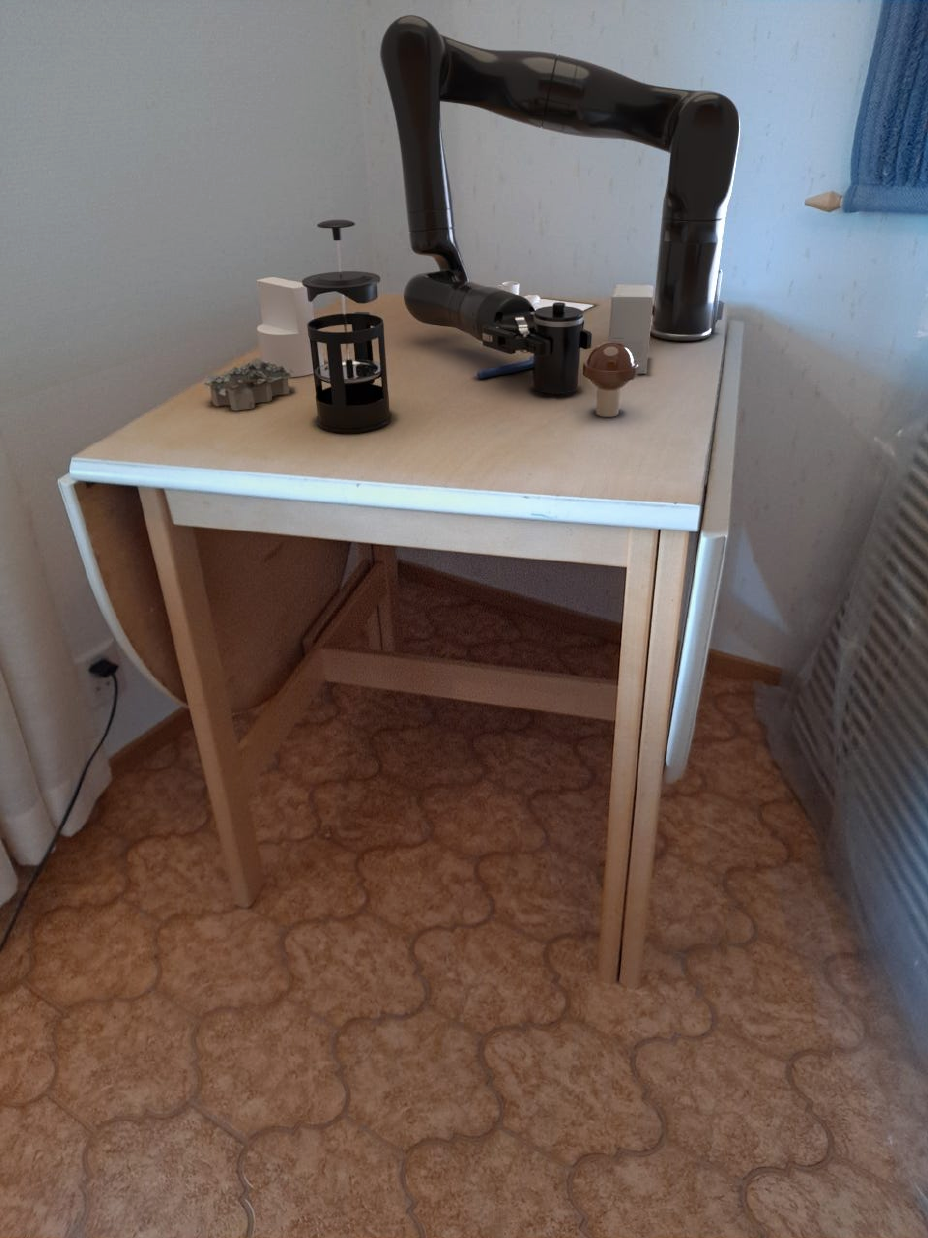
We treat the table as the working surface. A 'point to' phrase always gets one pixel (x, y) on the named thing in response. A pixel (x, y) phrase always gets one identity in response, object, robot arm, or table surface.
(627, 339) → the small box
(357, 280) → the french press
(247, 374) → the egg carton
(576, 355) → the pot
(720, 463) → the table surface
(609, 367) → the mushroom
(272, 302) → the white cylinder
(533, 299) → the teacup and saucer
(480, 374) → the round blue paddle
